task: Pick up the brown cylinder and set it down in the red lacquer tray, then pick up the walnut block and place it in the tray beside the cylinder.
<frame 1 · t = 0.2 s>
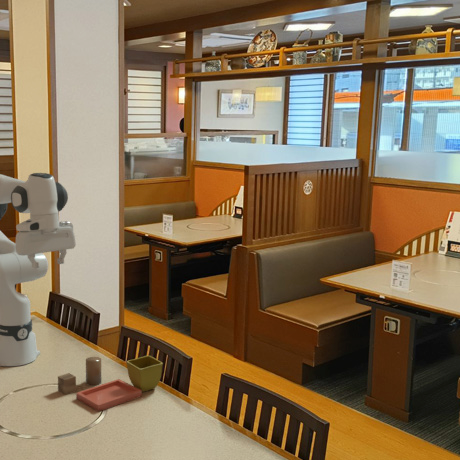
hand: (48, 265, 198), 39 cm above the table, tool pointing down, fingers open, 8 cm apart
brown cylinder: (93, 382, 202), on the table
flower pot: (144, 388, 199), on the table
block: (67, 391, 195), on the table
tray: (109, 397, 192), on the table
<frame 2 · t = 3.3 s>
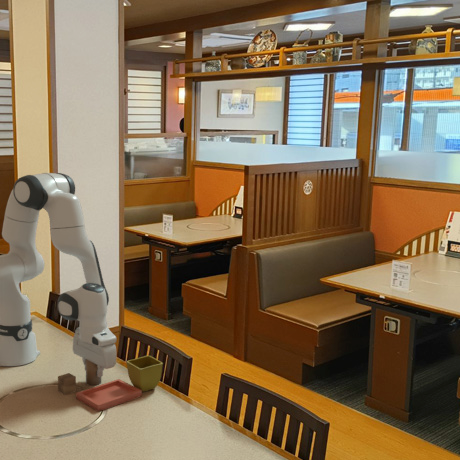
hand: (93, 373, 202), 3 cm above the table, tool pointing down, fingers closed on brown cylinder, 5 cm apart
brown cylinder: (93, 382, 202), on the table, touching gripper
everything else where it was.
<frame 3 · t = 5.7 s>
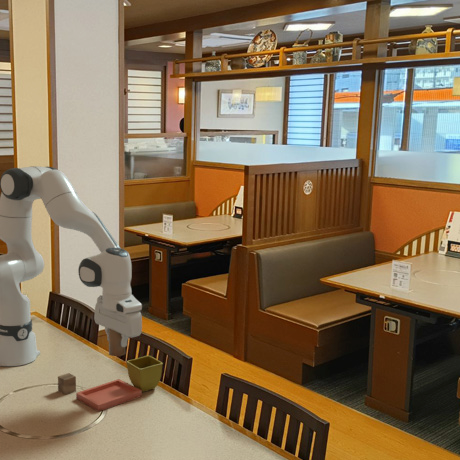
hand: (117, 343, 191), 17 cm above the table, tool pointing down, fingers closed on brown cylinder, 5 cm apart
brown cylinder: (117, 353, 192), point 14 cm above the table, touching gripper
everything else where it was.
when the fingers open (5 cm above the table, at t = 8.2 s): brown cylinder drops 1 cm, resting on tray.
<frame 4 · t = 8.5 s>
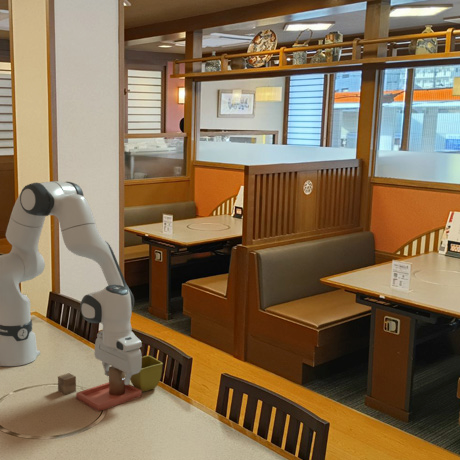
hand: (117, 379, 193), 5 cm above the table, tool pointing down, fingers open, 8 cm apart
brown cylinder: (117, 392, 194), point 1 cm above the table, touching tray
everything else where it was.
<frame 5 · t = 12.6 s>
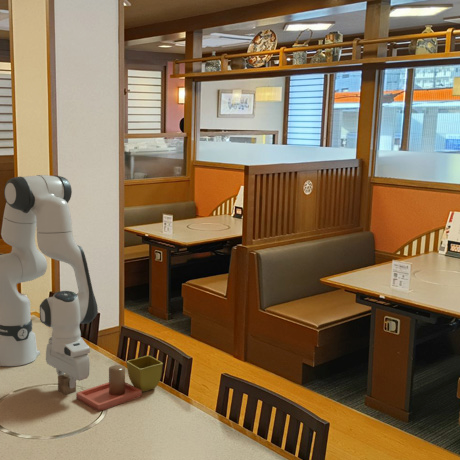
hand: (67, 384, 195), 2 cm above the table, tool pointing down, fingers closed on block, 4 cm apart
block: (67, 391, 195), on the table, touching gripper
everything else where it was.
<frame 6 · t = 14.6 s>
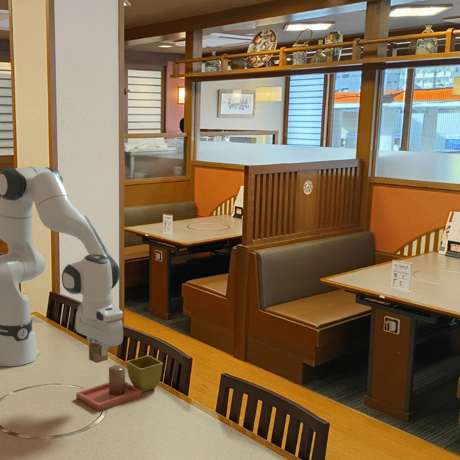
hand: (98, 352, 186), 16 cm above the table, tool pointing down, fingers closed on block, 4 cm apart
block: (98, 359, 186), point 14 cm above the table, touching gripper
everything else where it was.
when the fingers open (5 cm above the table, at t = 16.9 s): block drops 2 cm, resting on tray.
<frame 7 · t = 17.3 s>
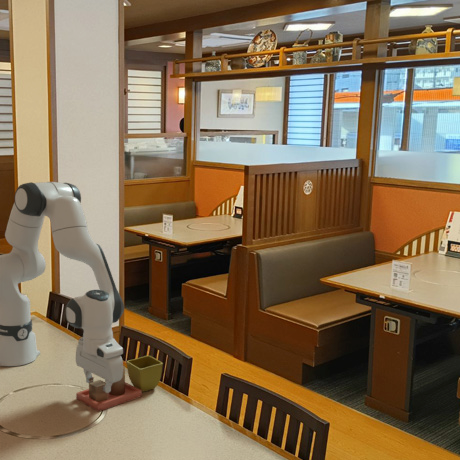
hand: (98, 387, 188), 5 cm above the table, tool pointing down, fingers open, 8 cm apart
block: (98, 398, 189), point 1 cm above the table, touching tray
everything else where it was.
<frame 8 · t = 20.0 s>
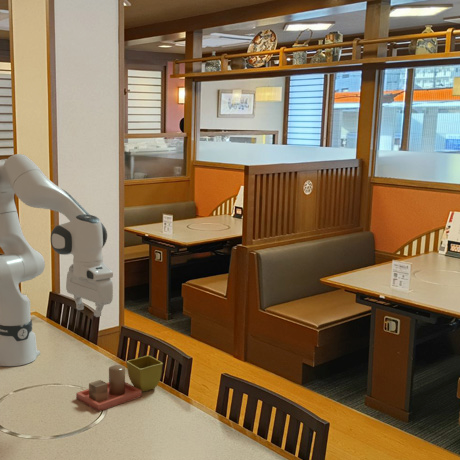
hand: (88, 312, 188), 27 cm above the table, tool pointing down, fingers open, 8 cm apart
nothing on the table moved.
at the end: brown cylinder inside the target area on the tray (3.0 cm from its centre), point 0.8 cm above the tray's base; brown cylinder tilted 0°; block inside the target area on the tray (4.0 cm from its centre), point 0.8 cm above the tray's base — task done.
